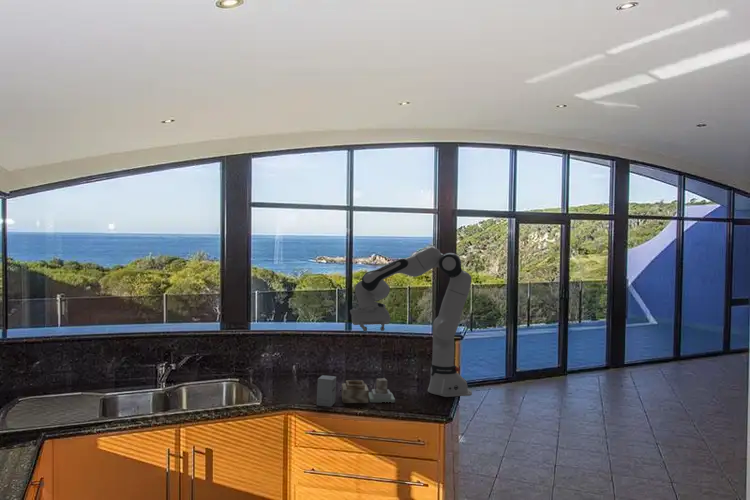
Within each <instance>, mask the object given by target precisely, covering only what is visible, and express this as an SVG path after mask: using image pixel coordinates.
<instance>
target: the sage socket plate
mask: <svg viewBox="0 0 750 500" xmlns="http://www.w3.org/2000/svg"><path fill="white" fill-rule="evenodd" d="M368 402H369V403H381V404H382V402H385V403H386V402H388V403H389V402H391V403H393V404H394V403H396V398H395V397H394V394H393V393H392V392H391V391H390V389H388V388H387V394H376V388H372V389H371V391H369V397H368ZM391 403H390V404H391Z"/></svg>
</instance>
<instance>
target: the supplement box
mask: <svg viewBox="0 0 750 500" xmlns="http://www.w3.org/2000/svg"><path fill="white" fill-rule="evenodd" d="M336 394H337V376H334V375H323V374H322V375H320V376H319V377H318V378H317V388H316V406H320V407H329V408H331V407H333V405H334V404H335V403H336Z"/></svg>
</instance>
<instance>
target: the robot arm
mask: <svg viewBox="0 0 750 500" xmlns="http://www.w3.org/2000/svg"><path fill="white" fill-rule="evenodd" d="M434 268H439V270H440V271H441V272H442V273H443V274H445V275H446V276H447V277H449V282H448V284H447V287H446V290H445V293H444V296H443V298H442V301H441V304H440V308H439V313H438V314H437V315H438V316H436V318H435V319H434V320H433V323H432V356H431V357H432V358H431V364H430V365H431V366H430V380H429V384H428V388H427V392H428V393H430V394H433V395H435V396H436V395H437V396H441V397H444V398H449V397H454V398H455V397H470V396H472V395H473V392H472V390H471V389H470V388H469V387H468V383H467V380H466V379H465V377H463V376H462V375H461V374H460V373H458V372H460V367H458V366H457V365H455V364H454V362H455V336H456V333H457V330H458V327H459V323H460V320H461V318H462V317H461V316H462V314H463V309H464V307H465V304H466V301H467V298H468V296H469V293H470V290H471V289H470V288H471V286H472V275H471V274H470V273H469V272H467V271H465V270H463V269H462V260H461V257H460V256H459V255H457V254H456V253H453V252H446V253H442V252H441V251H440V249H438V248H437V247H436V246H428V247H426V248H424V249H422V250H421V249H420V251H418V252H416V253H415V254H412V255H409V256H408V257H405V258H399V259H397V260H396V259H395V260H393V261H392V262H390V263H388V264H386V265H383V266H381V267H380V268H377V269H374V270H373V269H372V270H369V271H367V272H366V273H365V274H363V276H362V278H361V280H359V282H357V283H356V284H355V288H354V292H355V298H356V301H357V302H358V308H355V307H353V308H352V309H350V310H349V313H350V314H349V315H350V316H351V323H352V324H353V325H354V326H359V327H360V328H361V329H362V330H363V332H367V331H368V326H367V325H370V326H371V325H372V326H373V325H374V326H375V325H381V326H380V332H383V331H385V325H389V324H390V322H391V316H390V315H391V314H390V313H389V311H388V309H387V308H386V304H384V303H380V302H378V301H380V300H383V299H385V298H387V297H388V296H389V294H390V291H391V287H390V286H389V284H388V283H387V282H386V281H385V280H386V279H387V278H389V277H392V276H395V275H397V274H405V275H407V276H409V277H413V278H417V277H419V276H422V275H424V274H426V273H427V272H429V271H431V270H433V269H434ZM365 325H366V326H365Z"/></svg>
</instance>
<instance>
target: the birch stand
mask: <svg viewBox="0 0 750 500" xmlns="http://www.w3.org/2000/svg"><path fill="white" fill-rule="evenodd" d="M369 392H370V390H369V388H368V385H367V383H365V382H364V380H345V383H341V400H342V403H343V404H369V398H368V397H369Z"/></svg>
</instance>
